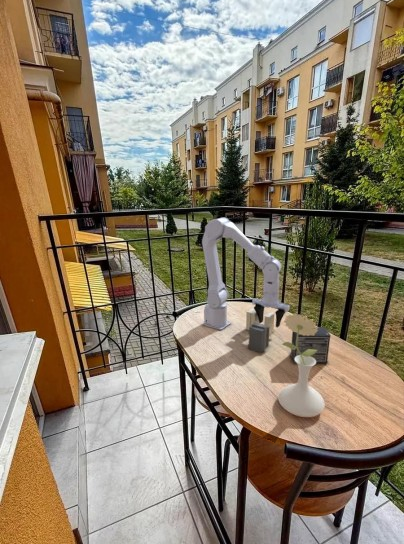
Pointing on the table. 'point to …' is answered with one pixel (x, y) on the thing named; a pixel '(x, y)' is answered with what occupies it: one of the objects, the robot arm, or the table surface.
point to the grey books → (258, 337)
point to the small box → (313, 345)
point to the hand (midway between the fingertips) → (269, 324)
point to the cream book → (270, 321)
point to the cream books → (251, 318)
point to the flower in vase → (301, 374)
